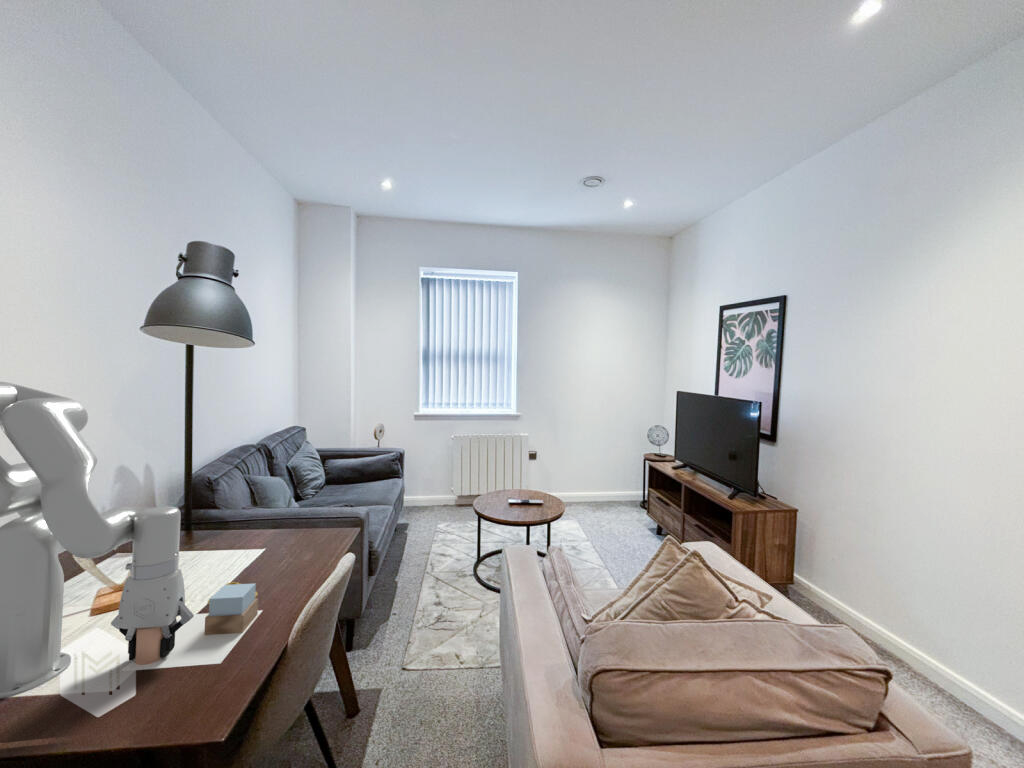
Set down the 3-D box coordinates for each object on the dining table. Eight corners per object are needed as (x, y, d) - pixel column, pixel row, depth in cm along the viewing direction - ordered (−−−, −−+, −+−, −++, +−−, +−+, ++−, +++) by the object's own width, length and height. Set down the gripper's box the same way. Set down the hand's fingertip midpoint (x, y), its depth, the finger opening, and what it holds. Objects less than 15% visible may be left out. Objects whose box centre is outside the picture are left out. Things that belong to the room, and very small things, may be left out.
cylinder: (128, 665, 84) (130, 631, 84) (145, 650, 88) (147, 617, 89) (156, 663, 84) (158, 629, 85) (172, 648, 89) (173, 616, 90)
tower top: (208, 616, 95) (209, 598, 95) (224, 601, 102) (224, 584, 102) (242, 614, 96) (242, 597, 96) (255, 599, 103) (255, 583, 103)
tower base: (204, 635, 94) (205, 617, 95) (222, 616, 102) (223, 600, 102) (242, 632, 96) (243, 615, 96) (257, 614, 104) (258, 598, 104)
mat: (120, 674, 82) (120, 671, 82) (184, 617, 103) (184, 614, 103) (220, 666, 85) (220, 663, 85) (262, 612, 106) (262, 610, 106)
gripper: (94, 577, 82) (89, 670, 81) (190, 573, 85) (186, 663, 84) (122, 562, 89) (118, 647, 89) (210, 558, 92) (206, 641, 92)
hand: (151, 654), depth 86 cm, fingers closed on cylinder, 4 cm apart
